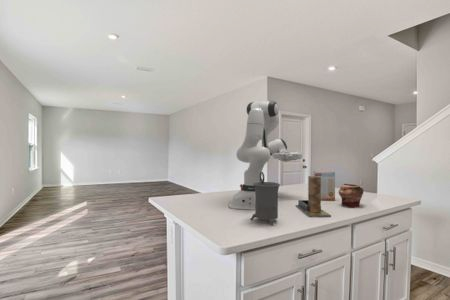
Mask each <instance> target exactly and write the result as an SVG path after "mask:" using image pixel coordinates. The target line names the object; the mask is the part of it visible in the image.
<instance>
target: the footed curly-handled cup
mask: <svg viewBox="0 0 450 300" xmlns="http://www.w3.org/2000/svg"><path fill="white" fill-rule="evenodd" d="M261 174H262V175H261ZM259 178H260V182H256V183H254V184H253V185H254V187H255V210H254V213H253V214H252V216H251V217H250V220H254V219H255V218H256V219H258V220H264V221H269V223H270V225H271V227H274V220H277V219H279V216H278V215H279V200H278V199H279V197H278V196H279V188H280V186H281V184H280V183H279V182H275V181H265V174H264V171H262V172H260V176H259Z"/></svg>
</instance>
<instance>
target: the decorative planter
mask: <svg viewBox="0 0 450 300" xmlns="http://www.w3.org/2000/svg"><path fill="white" fill-rule="evenodd" d="M338 194H339V196H340V198H341V205H342V206H344V207H348V208H358V207H360V204H361V200H362V198H363V194H364V188H362V187H361V185H359V184H358V185H357V184H349V183H343V184H342V185H341V186H340V189H339V190H338Z"/></svg>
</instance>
